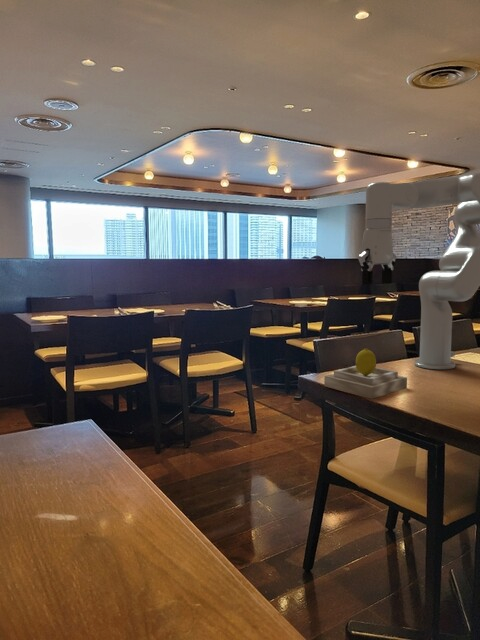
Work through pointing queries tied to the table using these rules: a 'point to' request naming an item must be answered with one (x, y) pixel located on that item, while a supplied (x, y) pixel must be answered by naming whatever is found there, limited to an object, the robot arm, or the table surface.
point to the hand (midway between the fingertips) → (377, 284)
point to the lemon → (365, 362)
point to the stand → (366, 382)
